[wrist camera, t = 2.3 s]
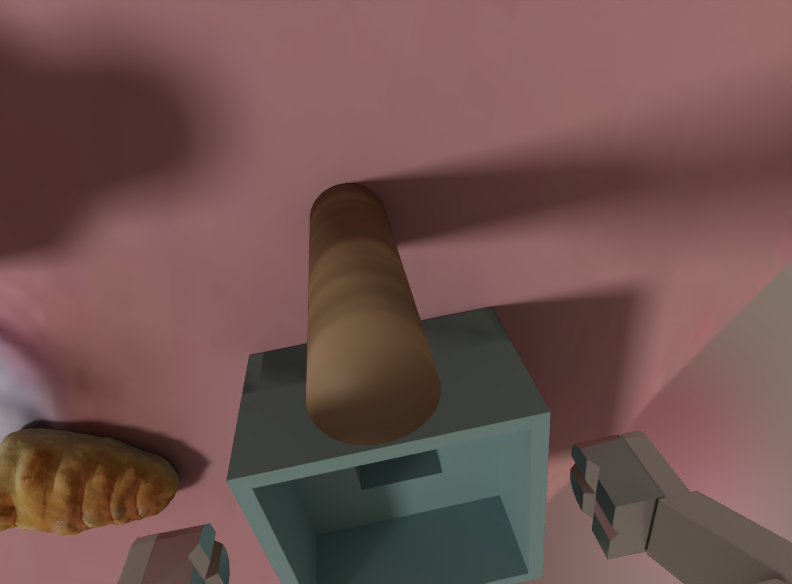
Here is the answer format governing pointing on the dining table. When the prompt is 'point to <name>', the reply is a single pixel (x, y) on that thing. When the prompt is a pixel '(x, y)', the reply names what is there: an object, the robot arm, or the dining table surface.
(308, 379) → the peg
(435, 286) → the dining table surface
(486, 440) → the box
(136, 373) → the dining table surface
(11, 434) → the pastry
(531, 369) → the dining table surface
